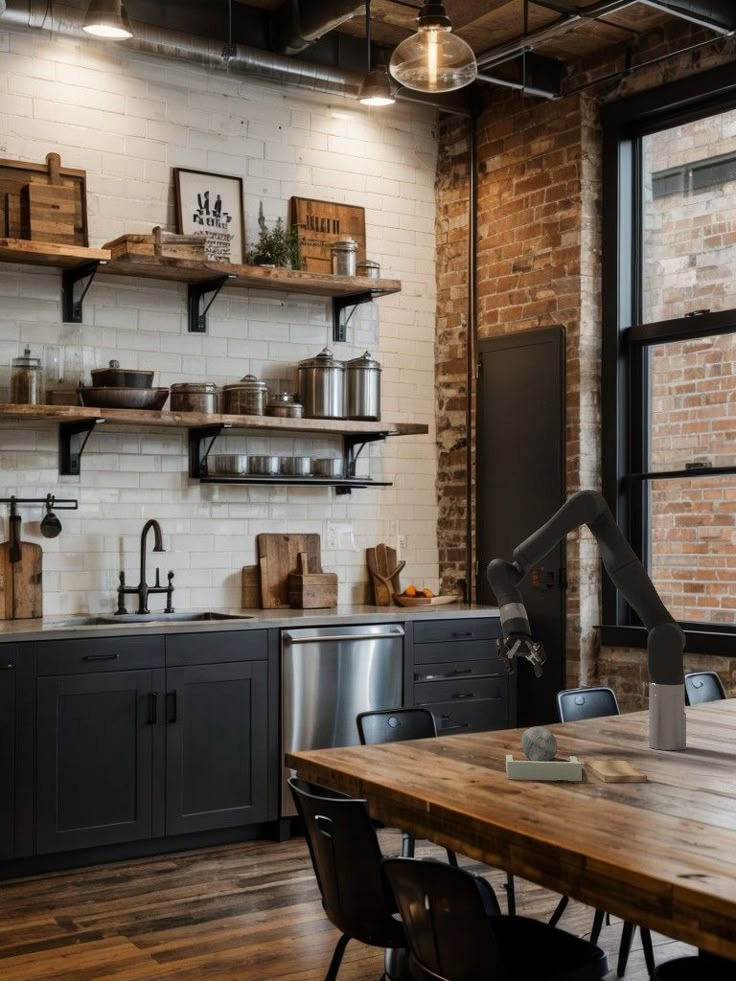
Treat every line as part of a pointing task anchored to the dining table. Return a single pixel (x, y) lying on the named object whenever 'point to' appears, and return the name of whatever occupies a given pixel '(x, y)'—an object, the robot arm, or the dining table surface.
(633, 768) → the oak board
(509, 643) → the robot arm
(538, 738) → the grey stone
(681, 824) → the dining table surface
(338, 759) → the dining table surface
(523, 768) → the cradle
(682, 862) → the dining table surface
